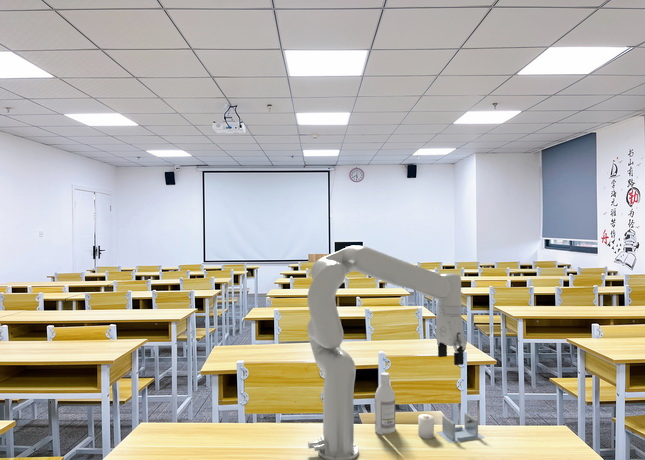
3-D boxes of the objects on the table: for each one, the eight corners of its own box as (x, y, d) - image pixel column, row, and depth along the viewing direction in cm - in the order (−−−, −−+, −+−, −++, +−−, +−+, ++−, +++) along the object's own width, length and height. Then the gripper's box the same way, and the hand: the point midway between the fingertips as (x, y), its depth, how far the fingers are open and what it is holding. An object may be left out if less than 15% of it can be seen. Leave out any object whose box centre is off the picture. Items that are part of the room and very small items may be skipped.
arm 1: (452, 440, 143) (452, 423, 143) (442, 432, 149) (442, 416, 149) (457, 440, 144) (457, 423, 144) (447, 432, 149) (447, 415, 149)
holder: (449, 446, 142) (449, 439, 142) (436, 435, 149) (436, 429, 149) (484, 440, 145) (484, 434, 145) (469, 430, 153) (469, 424, 153)
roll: (423, 442, 144) (423, 420, 144) (415, 436, 149) (415, 414, 149) (436, 440, 145) (436, 419, 145) (428, 434, 150) (428, 413, 150)
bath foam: (399, 432, 152) (399, 373, 152) (385, 438, 147) (385, 378, 147) (384, 425, 157) (384, 369, 157) (370, 431, 153) (370, 373, 153)
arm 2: (473, 437, 145) (473, 420, 145) (462, 429, 151) (462, 413, 151) (478, 436, 146) (477, 420, 146) (467, 429, 152) (467, 413, 152)
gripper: (426, 306, 157) (427, 354, 157) (454, 315, 140) (455, 369, 140) (445, 305, 159) (446, 353, 159) (475, 313, 143) (475, 366, 142)
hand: (450, 360), depth 150 cm, fingers open, 9 cm apart
